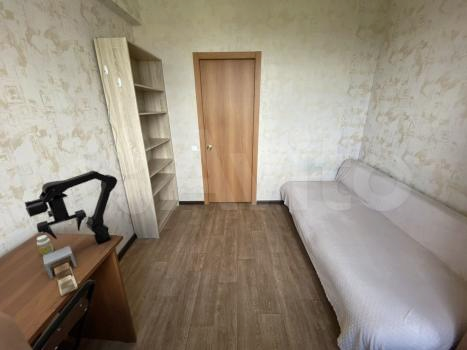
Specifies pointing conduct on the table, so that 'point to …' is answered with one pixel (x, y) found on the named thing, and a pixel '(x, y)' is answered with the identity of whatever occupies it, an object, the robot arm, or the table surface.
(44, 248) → the supplement bottle
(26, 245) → the table surface
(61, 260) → the pit pad
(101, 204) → the robot arm
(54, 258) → the tunnel
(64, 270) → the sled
